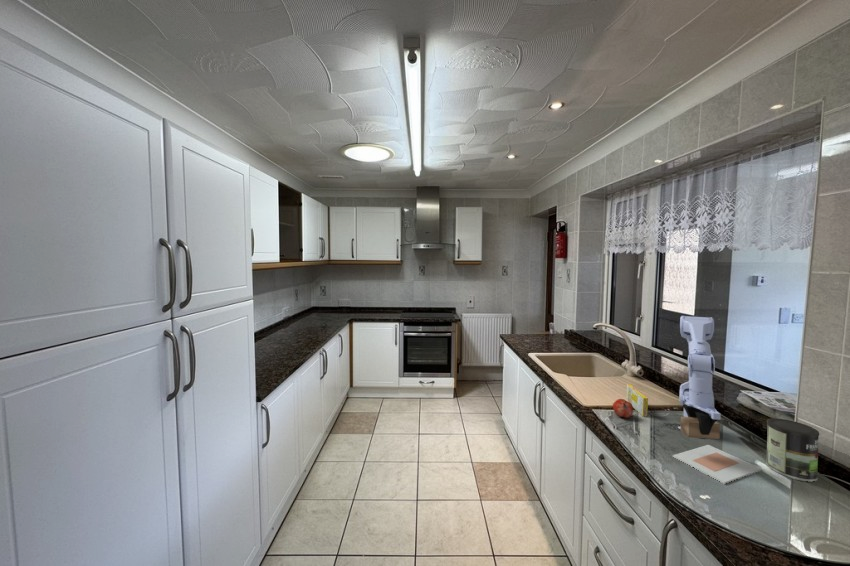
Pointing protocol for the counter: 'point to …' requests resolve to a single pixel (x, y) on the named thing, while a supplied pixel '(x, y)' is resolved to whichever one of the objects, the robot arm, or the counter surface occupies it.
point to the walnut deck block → (692, 428)
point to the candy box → (637, 400)
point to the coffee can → (792, 449)
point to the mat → (717, 463)
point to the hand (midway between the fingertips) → (699, 430)
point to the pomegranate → (623, 408)
